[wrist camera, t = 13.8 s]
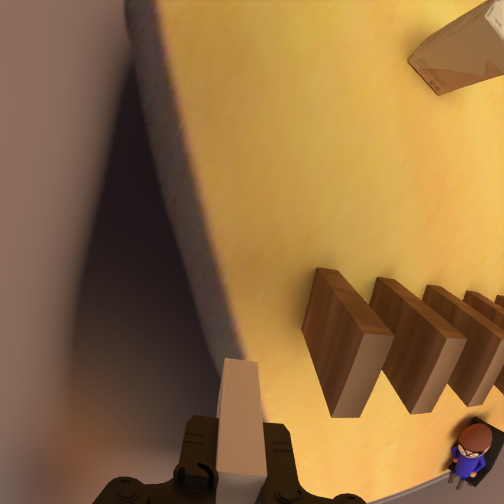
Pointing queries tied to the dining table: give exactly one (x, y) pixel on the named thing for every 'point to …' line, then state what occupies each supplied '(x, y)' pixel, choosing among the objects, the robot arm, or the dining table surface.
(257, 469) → the robot arm
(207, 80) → the dining table surface
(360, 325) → the tile
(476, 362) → the tile
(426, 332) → the tile
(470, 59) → the box
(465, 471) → the character figurine
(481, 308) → the tile
